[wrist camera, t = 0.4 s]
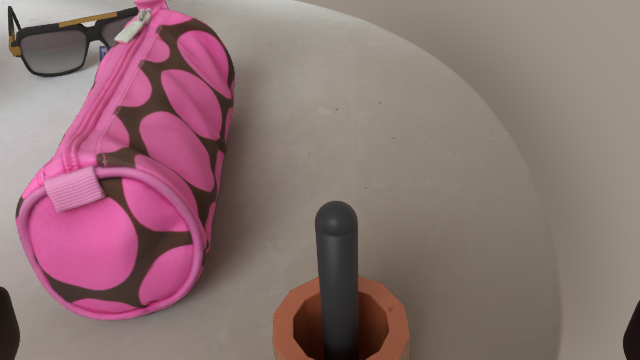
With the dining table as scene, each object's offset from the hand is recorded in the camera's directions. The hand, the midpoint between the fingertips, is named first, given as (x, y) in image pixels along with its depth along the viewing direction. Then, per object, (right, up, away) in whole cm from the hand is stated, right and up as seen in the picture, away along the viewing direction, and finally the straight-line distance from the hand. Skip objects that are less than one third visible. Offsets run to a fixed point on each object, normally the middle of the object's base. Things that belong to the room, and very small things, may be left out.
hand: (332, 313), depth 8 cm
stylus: (+1, -7, +16) cm, 18 cm away
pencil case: (-10, +1, +29) cm, 30 cm away
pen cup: (+1, -8, +17) cm, 18 cm away
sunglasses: (-24, +16, +50) cm, 57 cm away
